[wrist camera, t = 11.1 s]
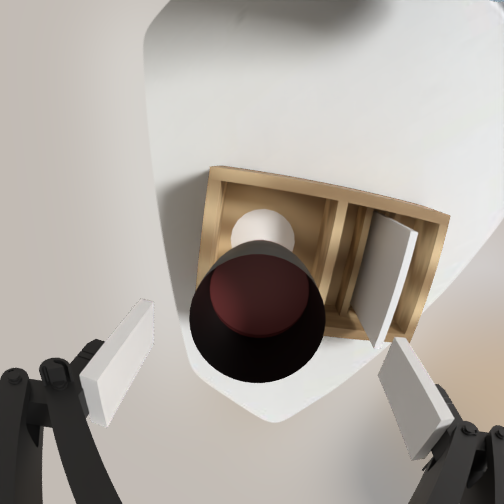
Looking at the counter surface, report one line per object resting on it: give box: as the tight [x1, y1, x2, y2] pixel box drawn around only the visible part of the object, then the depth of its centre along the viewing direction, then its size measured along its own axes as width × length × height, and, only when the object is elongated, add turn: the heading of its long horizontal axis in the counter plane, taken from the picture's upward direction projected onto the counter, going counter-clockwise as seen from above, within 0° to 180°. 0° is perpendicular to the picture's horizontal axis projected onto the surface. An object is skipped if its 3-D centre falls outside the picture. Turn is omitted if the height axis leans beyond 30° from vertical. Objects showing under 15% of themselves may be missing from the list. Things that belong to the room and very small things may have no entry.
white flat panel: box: [350, 211, 418, 349], centre depth 32 cm, size 12×1×11 cm, turn 171°
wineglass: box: [189, 209, 326, 383], centre depth 27 cm, size 8×9×20 cm
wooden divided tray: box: [195, 166, 450, 343], centre depth 35 cm, size 16×26×7 cm, turn 81°
